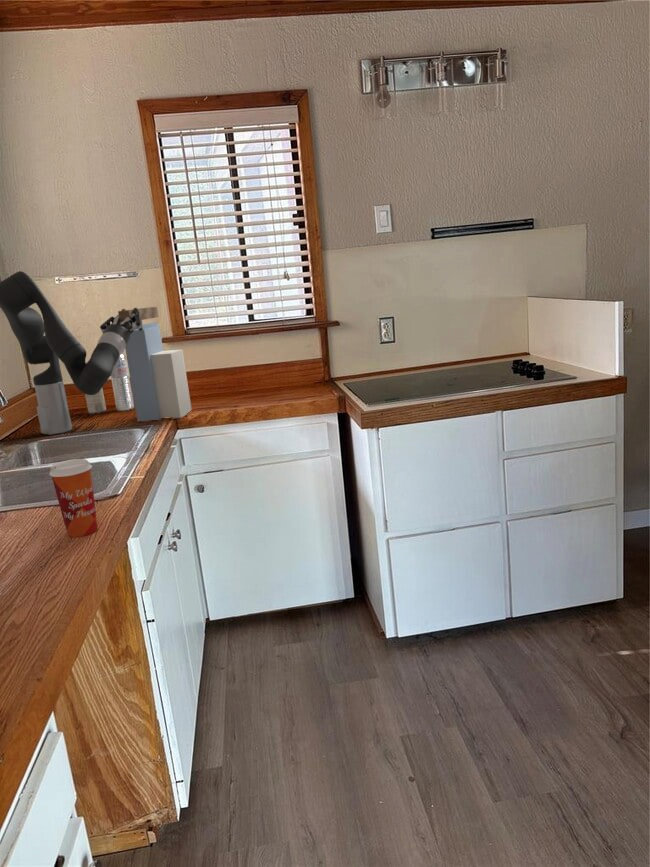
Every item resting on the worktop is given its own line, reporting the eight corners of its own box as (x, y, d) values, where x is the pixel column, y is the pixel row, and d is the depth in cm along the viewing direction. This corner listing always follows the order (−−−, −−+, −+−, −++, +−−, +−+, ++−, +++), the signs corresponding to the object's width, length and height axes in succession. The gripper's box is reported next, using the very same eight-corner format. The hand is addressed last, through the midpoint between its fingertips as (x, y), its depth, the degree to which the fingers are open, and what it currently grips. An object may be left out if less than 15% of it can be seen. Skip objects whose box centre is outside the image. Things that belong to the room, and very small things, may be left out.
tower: (158, 420, 225) (143, 325, 217) (137, 421, 227) (121, 327, 219) (172, 412, 238) (158, 321, 230) (152, 413, 239) (137, 323, 231)
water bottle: (133, 406, 257) (123, 345, 251) (135, 409, 251) (124, 346, 245) (116, 409, 255) (105, 347, 249) (117, 412, 249) (106, 348, 243)
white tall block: (180, 417, 226) (170, 353, 220) (160, 419, 227) (150, 355, 222) (191, 411, 237) (182, 349, 231) (172, 412, 238) (163, 350, 232)
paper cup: (68, 543, 120) (53, 472, 117) (57, 532, 126) (43, 465, 123) (109, 530, 124) (96, 462, 121) (97, 520, 130) (84, 455, 127)
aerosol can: (110, 410, 255) (101, 360, 250) (97, 414, 249) (88, 363, 244) (97, 410, 258) (88, 361, 253) (84, 413, 252) (75, 363, 247)
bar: (130, 321, 198) (128, 310, 197) (120, 322, 199) (118, 311, 198) (158, 317, 218) (156, 306, 217) (149, 317, 219) (147, 307, 218)
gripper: (96, 354, 194) (115, 322, 206) (139, 351, 191) (155, 318, 203) (85, 334, 189) (105, 302, 201) (130, 330, 186) (147, 298, 198)
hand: (130, 310), depth 202 cm, fingers closed on bar, 3 cm apart
